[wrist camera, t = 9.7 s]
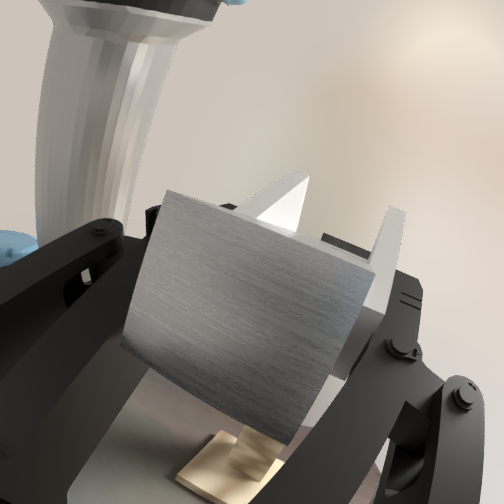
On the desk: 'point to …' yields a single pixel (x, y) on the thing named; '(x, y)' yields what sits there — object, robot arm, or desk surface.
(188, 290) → the metal block
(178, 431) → the desk surface
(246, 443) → the birch stand
